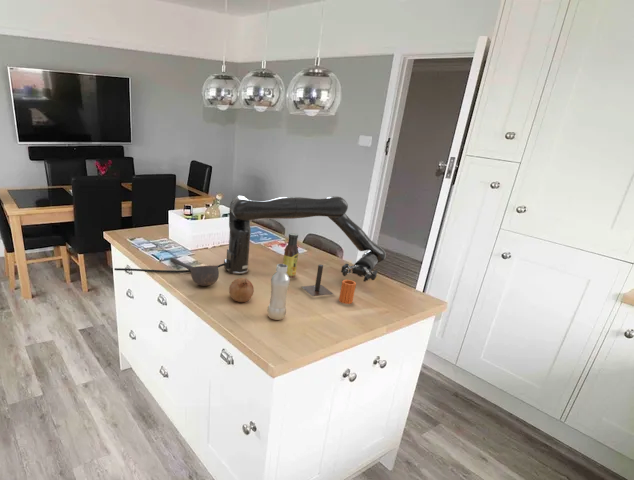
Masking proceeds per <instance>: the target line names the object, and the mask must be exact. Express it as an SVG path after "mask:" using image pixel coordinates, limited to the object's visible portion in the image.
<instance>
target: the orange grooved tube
mask: <svg viewBox="0 0 634 480" xmlns="http://www.w3.org/2000/svg"><path fill="white" fill-rule="evenodd" d="M356 285H357V283H356V281H354V280H352V279H344V280H342V281H341V286H340V292H339V296H338V301H339V303H341V304H347V305H350V304H352V303H353V302H354V296H355V292H356Z"/></svg>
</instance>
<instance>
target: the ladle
mask: <svg viewBox="0 0 634 480" xmlns="http://www.w3.org/2000/svg"><path fill="white" fill-rule="evenodd" d="M169 261H170V262H171V263H173V264H174V265H176V266H180V267H182V268H185V269H186V270H190V271H191V272H190V274H191V278H192V281H193V282H194V283H195V284H196V285H198V286H200V287H206V286H211V285H214V284H215V283H217V281H218V279H219V276H220V275H219V274H220V272H219V268H218V265H219V264H218V265H214V264H213V265H198V266H193V265H192V264H191V265H190V264H187V263H185V262H183V261H181V260H180V259H177V258H175V257H170V258H169Z"/></svg>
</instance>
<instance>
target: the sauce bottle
mask: <svg viewBox="0 0 634 480" xmlns="http://www.w3.org/2000/svg"><path fill="white" fill-rule="evenodd" d="M298 238H299V234H298V233H296V232H289V233H288V242H287V245H286V246H285V248H284V254H283V261H282V264H285V265H287V272H286V273H287V274H288V276H289V278H290V279H293V278H295V277H296V275H297V268H298V260H299V254H300V253H299V252H300V251H299V248H298Z"/></svg>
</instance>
